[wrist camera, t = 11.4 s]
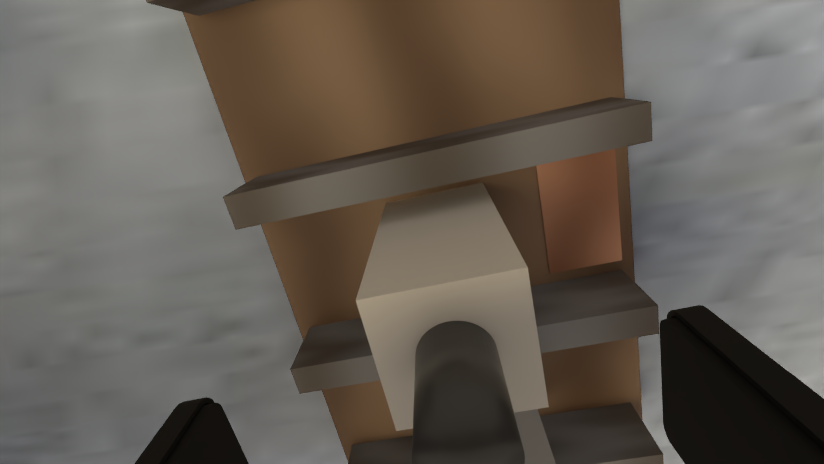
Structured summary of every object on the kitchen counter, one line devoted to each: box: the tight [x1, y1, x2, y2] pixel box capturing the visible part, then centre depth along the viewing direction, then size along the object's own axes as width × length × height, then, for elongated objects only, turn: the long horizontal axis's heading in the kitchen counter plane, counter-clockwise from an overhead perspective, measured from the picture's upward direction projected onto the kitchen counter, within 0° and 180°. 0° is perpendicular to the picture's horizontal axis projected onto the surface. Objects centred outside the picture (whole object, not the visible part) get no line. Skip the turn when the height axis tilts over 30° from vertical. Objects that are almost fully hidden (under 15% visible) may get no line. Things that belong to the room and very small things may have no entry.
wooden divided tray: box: [146, 0, 663, 464], centre depth 17 cm, size 15×23×4 cm, turn 13°
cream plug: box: [356, 182, 549, 464], centre depth 13 cm, size 4×4×11 cm
